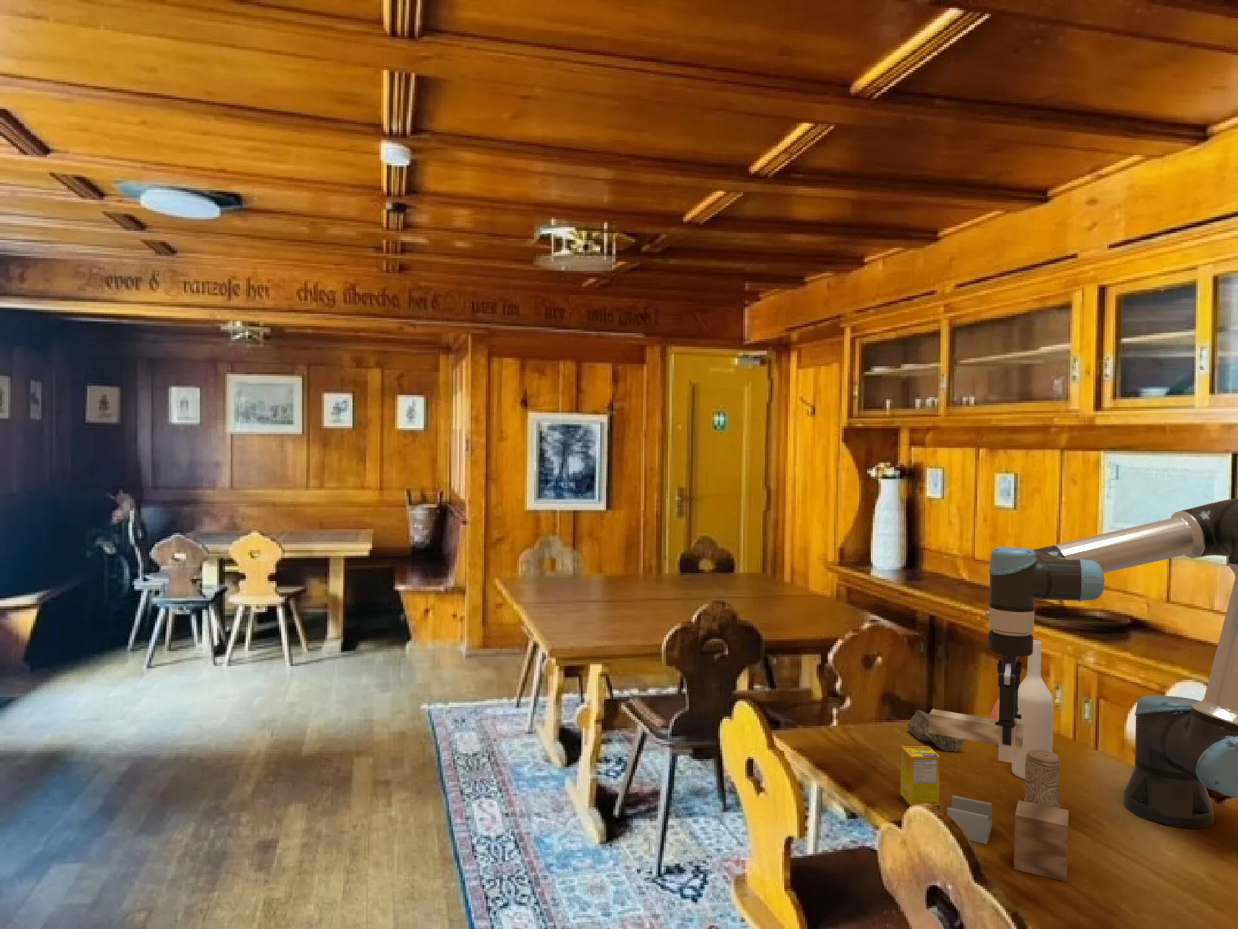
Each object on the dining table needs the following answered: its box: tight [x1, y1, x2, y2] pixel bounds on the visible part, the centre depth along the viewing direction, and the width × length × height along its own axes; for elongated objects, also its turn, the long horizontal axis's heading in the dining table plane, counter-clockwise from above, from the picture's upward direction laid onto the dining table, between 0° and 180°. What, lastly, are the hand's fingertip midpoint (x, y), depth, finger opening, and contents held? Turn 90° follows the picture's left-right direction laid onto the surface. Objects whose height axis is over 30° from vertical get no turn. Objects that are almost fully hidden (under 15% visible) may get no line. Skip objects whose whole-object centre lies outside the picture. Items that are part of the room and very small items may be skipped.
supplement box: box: [900, 745, 941, 809], centre depth 171 cm, size 6×6×11 cm
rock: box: [907, 709, 966, 753], centre depth 206 cm, size 17×7×10 cm
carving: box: [1024, 750, 1061, 808], centre depth 167 cm, size 6×8×12 cm
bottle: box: [1011, 639, 1054, 780], centre depth 186 cm, size 8×8×30 cm
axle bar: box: [928, 708, 1024, 750], centre depth 157 cm, size 16×4×4 cm, turn 61°
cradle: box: [946, 795, 993, 845], centre depth 158 cm, size 7×7×5 cm
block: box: [1013, 799, 1070, 882], centre depth 145 cm, size 8×7×10 cm
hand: (1007, 757), depth 155 cm, fingers closed on axle bar, 4 cm apart
